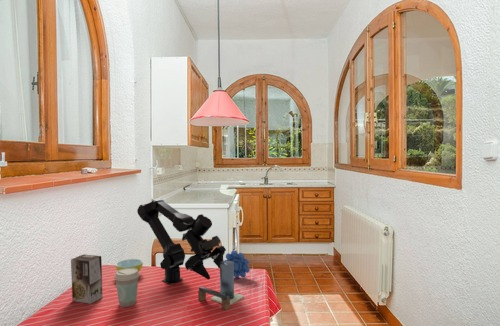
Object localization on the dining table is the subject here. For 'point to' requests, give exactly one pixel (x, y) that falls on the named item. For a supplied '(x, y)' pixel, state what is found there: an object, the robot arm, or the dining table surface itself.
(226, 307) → the posts
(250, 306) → the dining table surface
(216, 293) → the bar
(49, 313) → the dining table surface
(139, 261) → the bowl
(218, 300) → the mat
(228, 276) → the canister
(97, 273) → the coffee box
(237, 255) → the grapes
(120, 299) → the coffee cup
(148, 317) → the dining table surface
